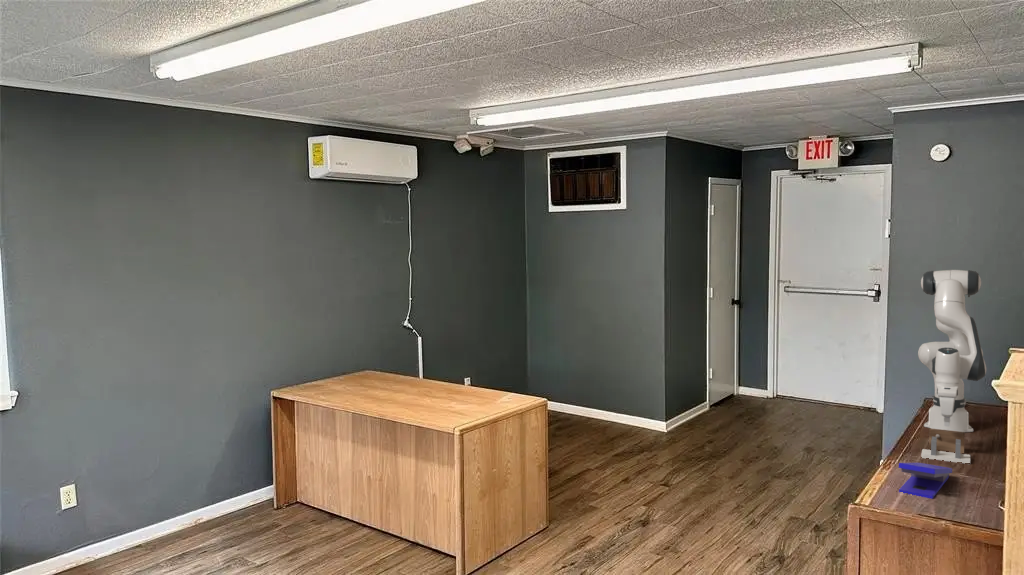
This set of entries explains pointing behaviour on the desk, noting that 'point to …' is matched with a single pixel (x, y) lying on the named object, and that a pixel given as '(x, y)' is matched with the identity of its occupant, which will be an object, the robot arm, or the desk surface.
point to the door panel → (946, 439)
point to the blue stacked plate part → (924, 479)
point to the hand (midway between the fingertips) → (947, 423)
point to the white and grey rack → (945, 453)
